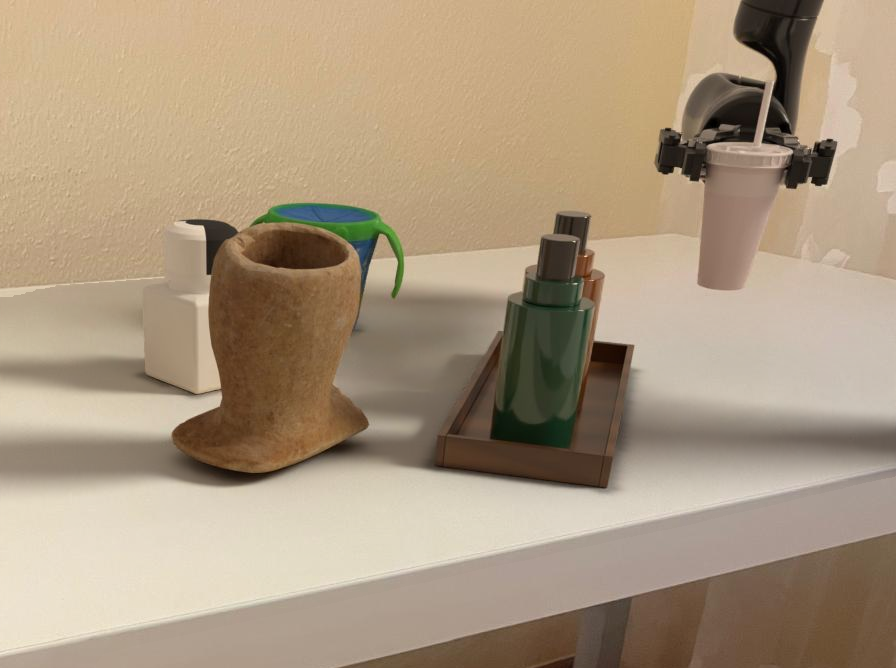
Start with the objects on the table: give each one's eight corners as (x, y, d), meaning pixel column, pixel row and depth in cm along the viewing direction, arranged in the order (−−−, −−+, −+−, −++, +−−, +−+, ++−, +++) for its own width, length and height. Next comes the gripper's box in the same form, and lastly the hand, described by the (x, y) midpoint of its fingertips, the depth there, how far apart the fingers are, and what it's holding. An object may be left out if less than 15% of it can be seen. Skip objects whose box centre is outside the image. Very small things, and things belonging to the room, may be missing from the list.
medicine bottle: (209, 361, 105) (207, 211, 98) (262, 380, 101) (265, 225, 94) (143, 375, 101) (137, 219, 94) (196, 395, 97) (194, 234, 90)
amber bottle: (597, 407, 96) (631, 216, 88) (551, 421, 93) (582, 224, 84) (538, 389, 99) (566, 204, 91) (491, 402, 96) (516, 211, 88)
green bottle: (587, 446, 88) (624, 240, 80) (536, 463, 85) (569, 249, 77) (523, 425, 92) (552, 225, 83) (472, 440, 88) (497, 234, 80)
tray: (495, 355, 110) (498, 330, 109) (629, 369, 107) (634, 344, 106) (434, 465, 85) (437, 435, 84) (607, 488, 83) (613, 456, 82)
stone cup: (277, 503, 78) (283, 257, 70) (149, 458, 84) (140, 226, 76) (410, 448, 88) (430, 226, 79) (287, 411, 94) (294, 201, 85)
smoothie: (777, 293, 93) (826, 85, 85) (700, 295, 92) (742, 85, 84) (740, 274, 98) (782, 76, 90) (666, 276, 97) (702, 76, 89)
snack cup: (411, 324, 118) (421, 211, 112) (379, 349, 110) (387, 229, 104) (265, 305, 122) (267, 195, 117) (223, 328, 114) (223, 211, 108)
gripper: (665, 85, 101) (657, 104, 88) (844, 96, 98) (864, 118, 85) (647, 184, 105) (637, 216, 92) (818, 197, 102) (833, 233, 89)
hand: (746, 169), depth 88 cm, fingers closed on smoothie, 6 cm apart
